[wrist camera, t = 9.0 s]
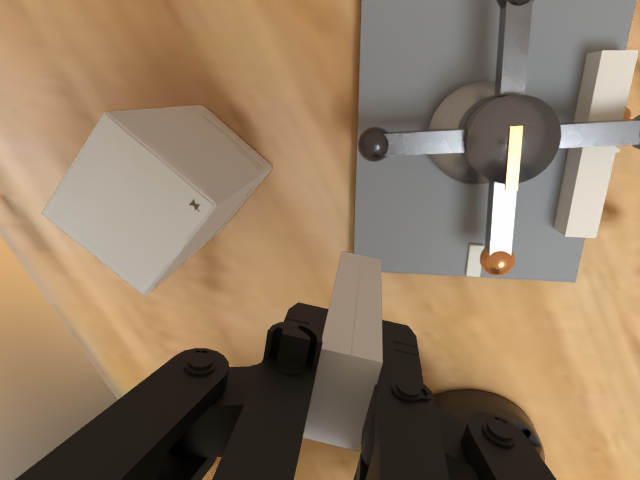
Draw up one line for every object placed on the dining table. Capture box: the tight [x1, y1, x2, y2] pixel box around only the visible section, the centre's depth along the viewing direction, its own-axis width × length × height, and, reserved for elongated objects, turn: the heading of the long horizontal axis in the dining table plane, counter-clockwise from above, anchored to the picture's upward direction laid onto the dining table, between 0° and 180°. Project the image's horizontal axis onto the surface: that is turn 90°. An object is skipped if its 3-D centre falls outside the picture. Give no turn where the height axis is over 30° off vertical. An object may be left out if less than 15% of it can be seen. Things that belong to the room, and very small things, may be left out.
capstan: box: [358, 0, 640, 276], centre depth 32 cm, size 22×22×6 cm
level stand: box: [354, 0, 639, 282], centre depth 35 cm, size 24×21×4 cm
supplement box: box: [42, 105, 273, 296], centre depth 34 cm, size 9×9×15 cm
